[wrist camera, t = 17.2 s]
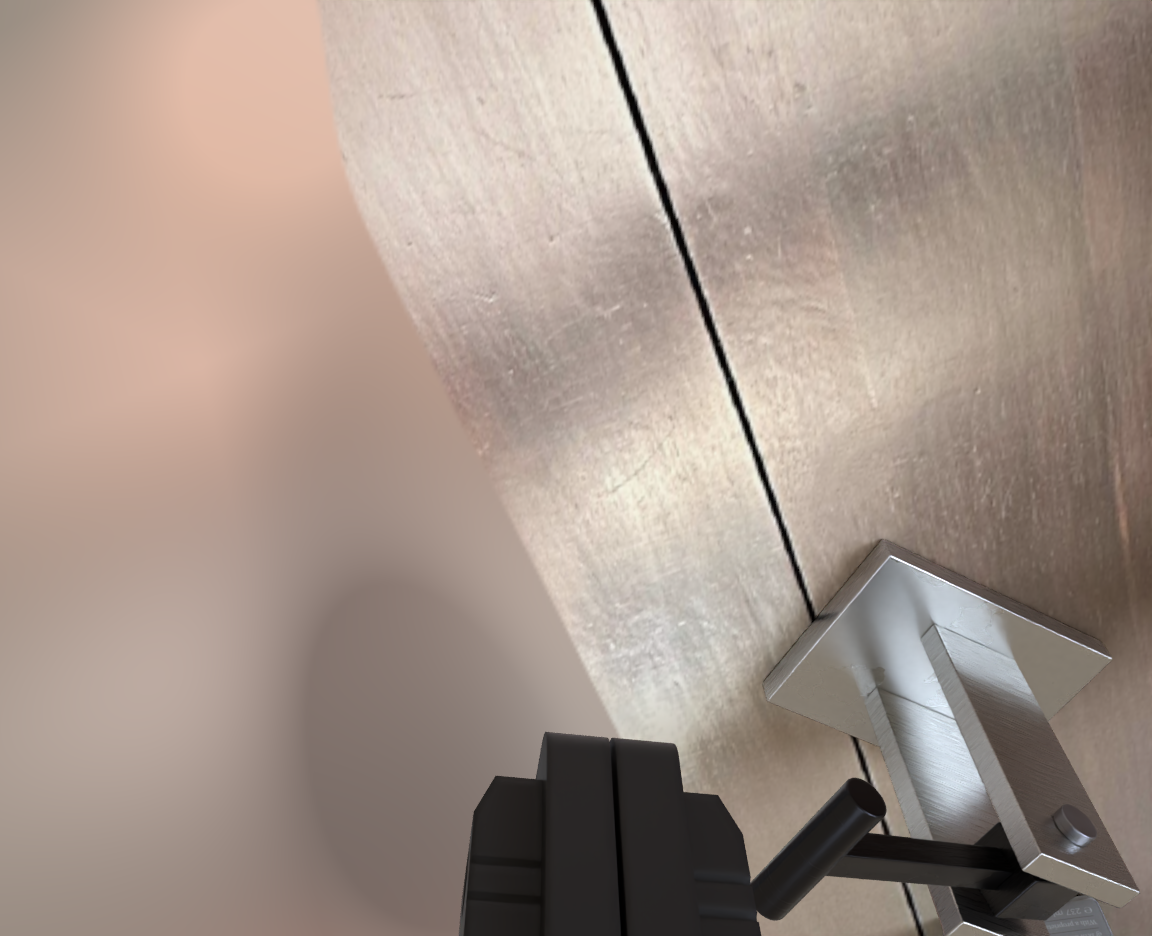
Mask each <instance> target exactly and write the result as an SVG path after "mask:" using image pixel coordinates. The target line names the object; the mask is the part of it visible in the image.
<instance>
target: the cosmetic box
mask: <svg viewBox="0 0 1152 936" xmlns="http://www.w3.org/2000/svg"><path fill="white" fill-rule="evenodd" d="M1044 923H1045V925H1046V927H1047V929H1048V932H1049V934H1050V936H1113V934H1112V931H1111V929H1110V927H1109V925H1108V923H1107V920H1106V918H1105V916H1104V914H1103V912H1102V909H1101V907H1100V905H1099V903H1098V902H1097V901H1096V900H1094V899H1093V898H1092V897H1089V896H1087V895H1082V896H1076V897H1074V898H1072V899H1071V900H1070V901H1069V902H1067V903H1066V904H1065V905H1064V906H1063V907H1061V908H1060V909H1059V910H1058V911H1057V912H1055V913H1054V914H1053V915H1052V916H1051V917H1049V918H1048V919H1047V920H1045V921H1044ZM943 936H945V934H944V931H943Z"/></svg>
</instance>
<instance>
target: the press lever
mask: <svg viewBox="0 0 1152 936" xmlns="http://www.w3.org/2000/svg"><path fill="white" fill-rule="evenodd" d="M885 814H886V805H885V802H884V800H883V798H882V797H881V795H880V794H879V793H878V791H877V790H876V789H875V788H874V787H873V786H871V785H870V784H869V783H867V782H866V781H864V780H862V779H859V778H851V779H848V780H847V781H846V782H845V783H844V784H843V785H842V787H841V788H840V789H839V790H838V791H837V792H836V793H835V794H834V795H833V796H832V797H831V798H830V799H829V800H828V801H827V802H826V803H825V804H824V806H823V807H822V808H821V809H820V810H819V811H818V812H817V813H816V814H815V815H814V816H813V817H812V818H811V819H810V820H809V821H808V822H807V823H806V824H805V826H804V827H803V828H802V829H801V830H800V831H799V832H798V833H797V834H796V835H795V836H794V837H793V838H792V839H791V840H790V841H789V842H788V843H787V845H786V846H785V847H784V848H783V849H782V850H781V851H780V852H779V853H778V854H777V855H776V856H775V857H774V858H773V859H772V860H771V861H770V862H769V864H768V865H767V866H766V867H765V868H764V869H763V870H762V871H761V872H760V873H759V874H758V875H757V876H756V877H755V878H754V879H753V880H752V881H751V882H750V886H752V888H753V893H754V899H755V904H756V910H757V911H758V912H759V913H760V914H761V915H762V916H764V917H765V918H767V919H770V920H780V919H782V918H784V917H785V916H786V915H787V914H788V913H789V912H790V911H791V910H792V909H793V908H794V907H795V906H796V905H797V904H798V903H799V902H800V901H801V900H802V899H803V898H804V897H805V896H806V895H807V894H808V893H809V892H810V891H811V890H812V889H813V888H814V887H815V886H816V885H817V884H818V883H819V882H820V880H821V879H822V878H823V877H824V876H834V877H846V878H858V879H869V880H881V881H893V882H905V883H916V884H928V885H940V886H951V887H963V888H975V889H979V891H980V893H981V894H982V896H983V898H984V899H985V901H986V903H987V904H988V906H989V908H990V910H991V911H992V913H993V915H994V916H995V917H998V918H1013V919H1028V920H1043V921H1045V920H1047V919H1048V918H1049V917H1051V916H1052V915H1053V914H1054V913H1055V912H1057V911H1058V910H1059V909H1060V908H1061V907H1063V906H1064V905H1065V904H1066V903H1067V902H1069V901H1070V900H1071V899H1072V898H1073V897H1075V896H1076V895H1077V894H1078V893H1079V892H1076V891H1074V890H1071V889H1068V888H1066V887H1063V886H1061V885H1058V884H1055V883H1053V882H1050V881H1048V880H1045V879H1042V878H1040V877H1037V876H1035V875H1032V874H1029V873H1027V872H1024V871H1023V870H1022V869H1021V867H1020V865H1019V863H1018V861H1017V858H1016V856H1015V854H1014V851H1013V849H1012V847H1011V845H1010V842H1009V840H1008V838H1007V836H1006V833H1005V831H1004V829H1003V826H1002V824H1001V822H998V823H997V824H995V825H994V826H993V827H992V828H991V829H990V830H989V831H988V832H987V833H986V834H985V835H984V836H982V837H981V838H980V839H979V840H978V841H977V842H976V843H975V844H974V845H969V844H961V843H952V842H943V841H934V840H926V839H917V838H908V837H900V836H891V835H882V834H873V833H868V832H869V831H870V830H871V829H872V828H873V827H874V826H875V825H876V824H877V823H878V822H879V821H880V820H881V819H882V818H883V817H884V816H885Z"/></svg>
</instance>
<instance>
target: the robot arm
mask: <svg viewBox="0 0 1152 936" xmlns="http://www.w3.org/2000/svg"><path fill="white" fill-rule="evenodd" d="M750 878H751V877H750V871H749V866H748V860H747V855H746V850H745V844H744V839H743V834H742V832H741V831H740V829H739V828H738V826H737V824H736V823H735V821H734V820H733V818H732V817H731V815H730V813H729V812H728V810H727V809H726V807H725V806H724V804H723V802H722V801H721V799H720V798H719V796H718V795H710V794H699V793H688V792H683V785H682V778H681V770H680V762H679V755H678V750H677V747H676V745H675V744H673V743H662V742H651V741H641V740H630V739H619V738H611V740H610V742H609V739H608V738H604V737H594V736H582V735H572V734H561V733H550V732H545V734H544V737H543V742H542V748H541V753H540V758H539V764H538V770H537V775H536V779H526V778H515V777H503V776H495V778H494V780H493V781H492V783H491V785H490V786H489V788H488V789H487V791H486V793H485V794H484V796H483V798H482V799H481V801H480V803H479V804H478V806H477V808H476V809H475V811H474V815H473V822H472V829H471V837H470V844H469V852H468V859H467V866H466V873H465V880H464V888H463V895H462V905H461V916H460V927H459V936H761V932H760V926H759V922H757V919H756V916H757V910H756V904H755V899H754V893H753V888H752V886H750Z"/></svg>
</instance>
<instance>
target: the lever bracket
mask: <svg viewBox="0 0 1152 936" xmlns="http://www.w3.org/2000/svg"><path fill="white" fill-rule="evenodd" d="M1112 659H1113V658H1112V657H1111V655H1110V654H1109V652H1108V650H1107V649H1106V647H1105V646H1104V644H1103V643H1102V642H1101V641H1099V640H1097V639H1095V638H1093V637H1091V636H1089V635H1087V634H1084V633H1082V632H1080V631H1078V630H1076V629H1074V628H1072V627H1070V626H1067V625H1065V624H1063V623H1061V622H1059V621H1057V620H1055V619H1053V618H1050V617H1048V616H1046V615H1044V614H1042V613H1040V612H1038V611H1035V610H1033V609H1031V608H1029V607H1027V606H1025V605H1023V604H1021V603H1018V602H1016V601H1014V600H1012V599H1010V598H1008V597H1006V596H1003V595H1001V594H999V593H997V592H995V591H993V590H991V589H989V588H986V587H984V586H982V585H980V584H978V583H976V582H974V581H972V580H969V579H967V578H965V577H963V576H961V575H959V574H957V573H954V572H952V571H950V570H948V569H946V568H944V567H942V566H940V565H937V564H935V563H933V562H931V561H929V560H927V559H925V558H922V557H920V556H918V555H916V554H914V553H912V552H910V551H908V550H905V549H903V548H901V547H899V546H897V545H895V544H893V543H891V542H888V541H886V540H884V539H882V540H881V541H880V543H879V544H878V545H877V546H876V547H875V549H874V550H873V551H872V552H871V553H870V555H869V556H868V557H867V558H866V559H865V561H864V562H863V563H862V564H861V565H860V567H859V568H858V569H857V570H856V571H855V573H854V574H853V575H852V576H851V577H850V579H849V580H848V581H847V582H846V583H845V584H844V586H843V587H842V588H841V589H840V590H839V592H838V593H837V594H836V595H835V596H834V598H833V599H832V600H831V601H830V602H829V604H828V605H827V606H826V607H825V608H824V610H823V611H822V612H821V613H820V614H819V616H818V617H817V618H816V619H815V620H814V622H813V623H812V624H811V625H810V626H809V628H808V629H807V630H806V631H805V632H804V634H803V635H802V636H801V637H800V638H799V640H798V641H797V642H796V643H795V644H794V646H793V647H792V648H791V649H790V650H789V652H788V653H787V654H786V655H785V656H784V658H783V659H782V660H781V661H780V662H779V664H778V665H777V666H776V667H775V668H774V670H773V671H772V672H771V673H770V674H769V676H768V677H767V678H766V679H765V680H764V682H763V688H764V692H765V696H766V700H767V701H768V702H770V703H773V704H775V705H778V706H780V707H782V708H785V709H787V710H790V711H792V712H795V713H797V714H800V715H802V716H805V717H807V718H810V719H812V720H814V721H817V722H819V723H822V724H824V725H827V726H829V727H832V728H834V729H837V730H839V731H842V732H844V733H846V734H849V735H851V736H854V737H856V738H859V739H861V740H864V741H866V742H869V743H871V744H874V745H876V746H879V747H880V749H881V752H882V755H883V758H884V761H885V764H886V767H887V770H888V772H889V775H890V778H891V781H892V784H893V787H894V790H895V793H896V796H897V798H898V801H899V804H900V807H901V810H902V813H903V816H904V819H905V822H906V824H907V827H908V830H909V833H910V836H911V838H917V839H926V840H934V841H943V842H952V843H961V844H969V845H974V844H975V843H976V842H977V841H978V840H979V839H980V838H981V837H982V836H984V835H985V834H986V833H987V832H988V831H989V830H990V829H991V828H992V827H993V826H994V825H995V824H997V823H998V822H1001V824H1002V826H1003V829H1004V831H1005V833H1006V836H1007V838H1008V840H1009V842H1010V845H1011V847H1012V849H1013V851H1014V854H1015V856H1016V858H1017V861H1018V863H1019V865H1020V867H1021V869H1022V870H1023V871H1024V872H1027V873H1029V874H1032V875H1035V876H1037V877H1040V878H1042V879H1045V880H1048V881H1050V882H1053V883H1055V884H1058V885H1061V886H1063V887H1066V888H1068V889H1071V890H1074V891H1076V892H1079V893H1081V894H1084V895H1087V896H1089V897H1092V898H1094V899H1097V900H1100V901H1102V902H1105V903H1107V904H1110V905H1112V906H1115V907H1118V908H1122V907H1123V906H1124V905H1126V904H1127V903H1128V902H1129V901H1131V900H1132V899H1133V898H1134V897H1136V896H1137V895H1138V894H1139V893H1140V891H1139V889H1138V887H1137V885H1136V883H1135V882H1134V880H1133V878H1132V876H1131V874H1130V872H1129V870H1128V869H1127V867H1126V865H1125V863H1124V861H1123V859H1122V858H1121V856H1120V854H1119V852H1118V850H1117V848H1116V846H1115V845H1114V843H1113V841H1112V839H1111V837H1110V835H1109V834H1108V832H1107V830H1106V828H1105V826H1104V824H1103V822H1102V821H1101V819H1100V817H1099V815H1098V813H1097V811H1096V809H1095V808H1094V806H1093V804H1092V802H1091V800H1090V798H1089V797H1088V795H1087V793H1086V791H1085V789H1084V787H1083V785H1082V784H1081V782H1080V780H1079V778H1078V776H1077V774H1076V773H1075V771H1074V769H1073V767H1072V765H1071V763H1070V761H1069V760H1068V758H1067V756H1066V754H1065V752H1064V750H1063V749H1062V747H1061V745H1060V743H1059V741H1058V739H1057V737H1056V736H1055V734H1054V732H1053V730H1052V728H1051V726H1050V724H1049V723H1048V721H1049V720H1050V719H1051V718H1052V717H1053V716H1054V715H1055V714H1056V713H1057V712H1058V711H1060V710H1061V709H1062V708H1063V707H1064V706H1065V705H1066V704H1067V703H1068V702H1069V701H1070V700H1071V699H1072V698H1073V697H1074V696H1075V695H1076V694H1077V693H1078V692H1079V691H1080V690H1081V689H1082V688H1084V687H1085V686H1086V685H1087V684H1088V683H1089V682H1090V681H1091V680H1092V679H1093V678H1094V677H1095V676H1096V675H1097V674H1098V673H1099V672H1100V671H1101V670H1102V669H1103V668H1104V667H1105V666H1107V665H1108V664H1109V663H1110V662H1111V661H1112ZM983 783H984V784H983ZM986 790H987V791H986ZM987 792H988V793H987ZM989 797H990V798H989ZM990 799H991V800H990ZM991 801H992V802H991ZM993 806H994V807H993ZM994 808H995V809H994ZM997 815H998V816H997ZM998 817H999V818H998ZM927 885H928V884H927ZM928 888H929V891H930V894H931V897H932V900H933V903H934V905H935V908H936V911H937V914H938V917H939V920H940V923H941V926H942V929H943V931H944V934H945V936H1050V934H1049V932H1048V929H1047V927H1046V925H1045V923H1044V921H1043V920H1028V919H1013V918H998V917H995V916H994V915H993V913H992V911H991V910H990V908H989V906H988V904H987V903H986V901H985V899H984V898H983V896H982V894H981V893H980V891H979V889H975V888H963V887H951V886H940V885H928Z"/></svg>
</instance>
